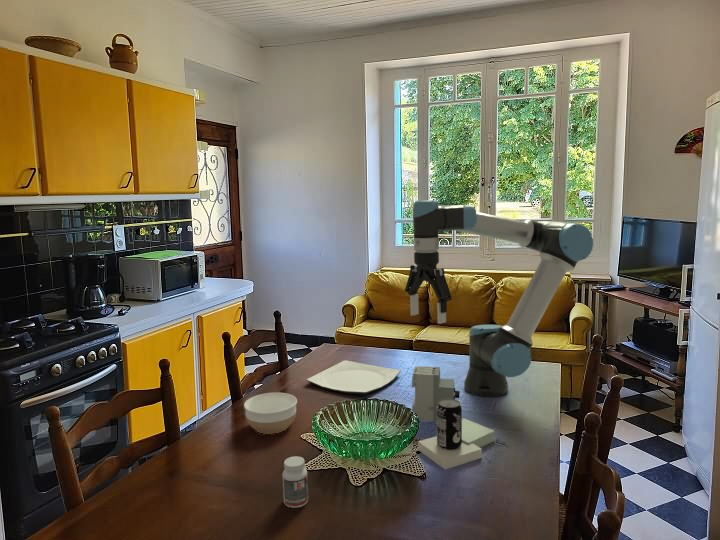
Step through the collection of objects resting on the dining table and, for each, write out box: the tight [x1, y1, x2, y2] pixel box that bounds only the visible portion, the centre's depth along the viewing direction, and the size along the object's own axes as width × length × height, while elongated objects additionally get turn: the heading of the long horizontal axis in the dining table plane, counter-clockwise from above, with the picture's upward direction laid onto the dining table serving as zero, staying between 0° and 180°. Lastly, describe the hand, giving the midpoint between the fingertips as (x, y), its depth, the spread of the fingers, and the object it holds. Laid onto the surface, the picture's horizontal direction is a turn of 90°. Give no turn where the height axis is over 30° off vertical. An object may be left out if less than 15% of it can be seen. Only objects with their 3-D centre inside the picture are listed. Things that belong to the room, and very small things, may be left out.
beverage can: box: [436, 398, 463, 450], centre depth 141 cm, size 7×7×12 cm
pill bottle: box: [281, 455, 309, 509], centre depth 121 cm, size 6×6×10 cm
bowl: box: [243, 392, 298, 435], centre depth 161 cm, size 16×16×8 cm
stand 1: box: [417, 435, 483, 471], centre depth 142 cm, size 12×12×2 cm
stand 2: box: [462, 418, 495, 449], centre depth 149 cm, size 11×11×3 cm
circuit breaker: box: [411, 365, 461, 423], centre depth 164 cm, size 8×14×15 cm, turn 78°
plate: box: [306, 359, 402, 395], centre depth 199 cm, size 29×29×3 cm
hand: (427, 318), depth 165 cm, fingers open, 13 cm apart
